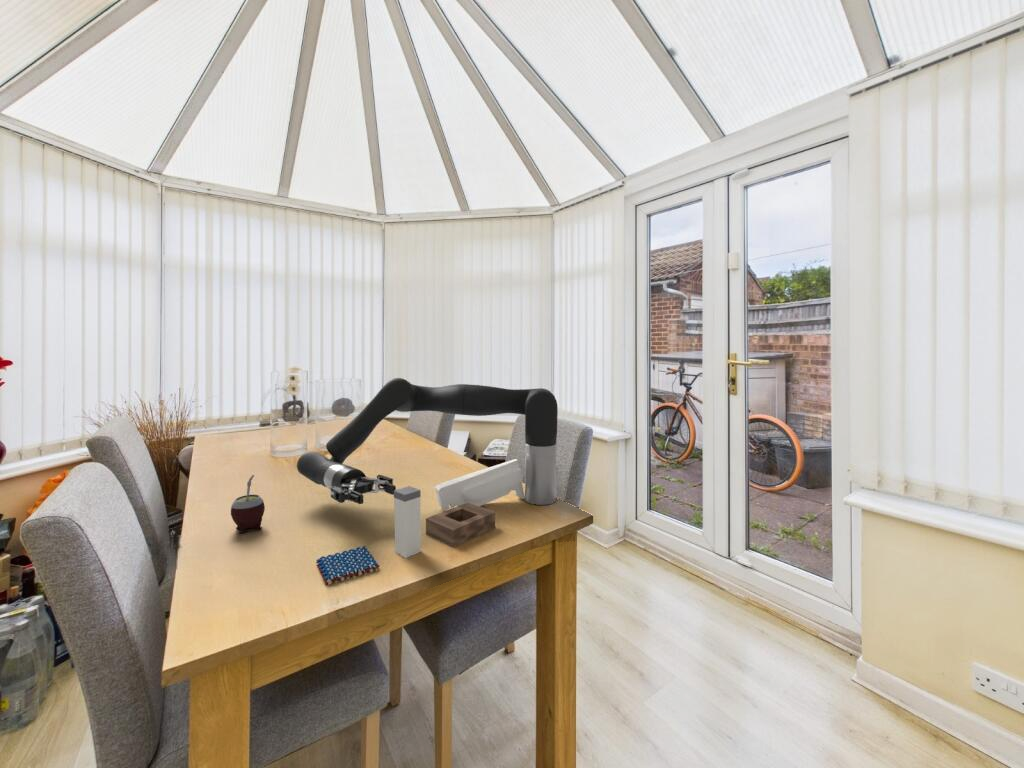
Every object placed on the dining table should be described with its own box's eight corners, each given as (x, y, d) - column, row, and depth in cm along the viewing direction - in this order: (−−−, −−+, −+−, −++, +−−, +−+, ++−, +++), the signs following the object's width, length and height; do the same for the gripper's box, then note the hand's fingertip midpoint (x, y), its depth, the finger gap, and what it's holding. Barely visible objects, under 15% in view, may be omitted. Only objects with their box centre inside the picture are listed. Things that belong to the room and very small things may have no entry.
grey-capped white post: (410, 545, 96) (409, 486, 94) (421, 551, 93) (420, 490, 92) (394, 552, 92) (393, 490, 91) (405, 558, 90) (404, 494, 89)
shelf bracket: (528, 501, 124) (520, 461, 122) (448, 533, 114) (438, 490, 112) (520, 495, 129) (512, 457, 127) (443, 525, 119) (433, 484, 117)
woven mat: (381, 572, 85) (381, 562, 85) (325, 589, 79) (325, 579, 79) (366, 552, 93) (366, 543, 93) (315, 565, 87) (315, 556, 87)
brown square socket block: (467, 516, 112) (467, 502, 112) (495, 527, 105) (495, 512, 105) (425, 534, 101) (425, 518, 101) (453, 547, 95) (453, 530, 94)
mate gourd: (244, 523, 107) (241, 466, 106) (274, 523, 107) (272, 466, 106) (223, 536, 100) (220, 474, 99) (256, 536, 100) (253, 475, 98)
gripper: (317, 472, 104) (350, 486, 93) (369, 460, 115) (404, 473, 104) (317, 501, 104) (350, 519, 94) (369, 487, 115) (404, 502, 105)
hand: (378, 494), depth 99 cm, fingers open, 8 cm apart
